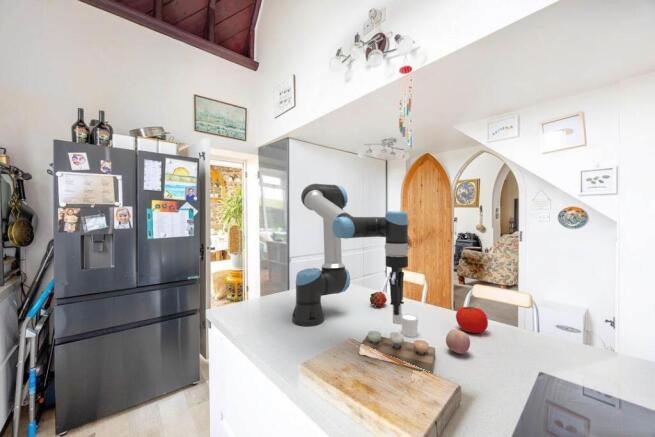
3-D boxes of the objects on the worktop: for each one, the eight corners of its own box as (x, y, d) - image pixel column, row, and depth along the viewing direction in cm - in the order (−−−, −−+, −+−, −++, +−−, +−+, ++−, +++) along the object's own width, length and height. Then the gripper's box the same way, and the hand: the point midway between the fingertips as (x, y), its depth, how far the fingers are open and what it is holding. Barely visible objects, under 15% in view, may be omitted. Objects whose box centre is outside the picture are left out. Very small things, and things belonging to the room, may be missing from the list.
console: (358, 354, 92) (358, 346, 92) (368, 341, 102) (368, 333, 102) (432, 373, 81) (432, 363, 81) (435, 356, 91) (435, 347, 91)
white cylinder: (418, 331, 110) (418, 315, 110) (418, 338, 104) (418, 321, 104) (401, 329, 113) (401, 313, 112) (400, 336, 106) (400, 319, 106)
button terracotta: (412, 361, 87) (412, 344, 87) (414, 354, 91) (414, 339, 91) (427, 364, 84) (427, 347, 84) (429, 358, 89) (429, 341, 89)
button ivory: (388, 352, 90) (388, 336, 90) (391, 346, 94) (391, 331, 94) (402, 355, 88) (402, 339, 88) (404, 349, 92) (404, 333, 92)
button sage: (366, 350, 94) (366, 335, 94) (370, 344, 98) (370, 330, 98) (379, 353, 92) (379, 337, 92) (382, 347, 96) (382, 332, 96)
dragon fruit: (371, 312, 138) (381, 309, 147) (384, 304, 134) (393, 302, 143) (363, 296, 141) (374, 295, 151) (376, 289, 138) (385, 288, 147)
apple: (469, 361, 87) (469, 337, 87) (444, 355, 92) (444, 332, 92) (470, 351, 94) (470, 329, 94) (447, 345, 98) (447, 324, 98)
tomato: (485, 328, 114) (486, 304, 114) (489, 339, 103) (489, 313, 103) (455, 323, 119) (455, 300, 119) (456, 333, 108) (456, 308, 108)
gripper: (404, 258, 84) (404, 332, 83) (411, 253, 95) (411, 318, 95) (381, 257, 87) (381, 328, 87) (390, 252, 99) (390, 315, 98)
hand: (397, 323), depth 91 cm, fingers closed
